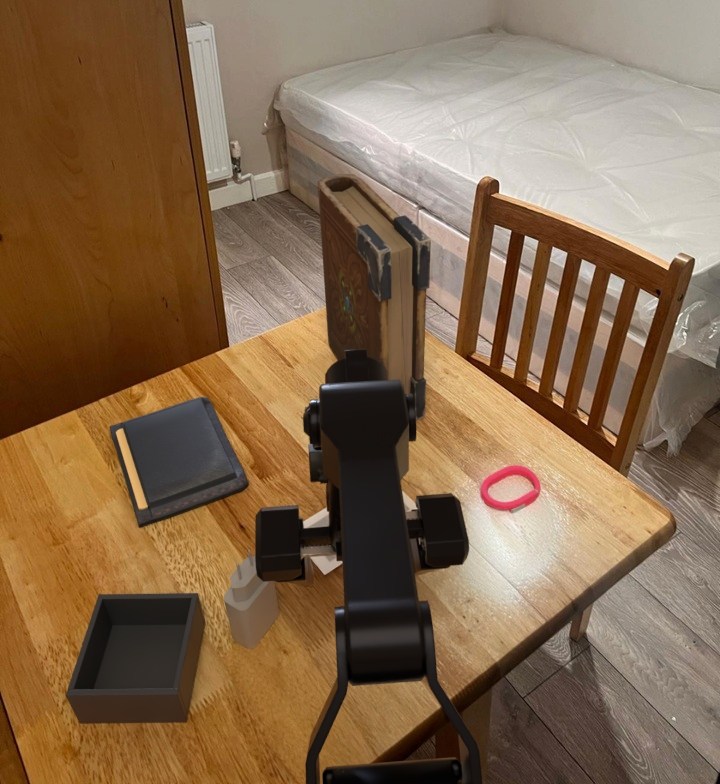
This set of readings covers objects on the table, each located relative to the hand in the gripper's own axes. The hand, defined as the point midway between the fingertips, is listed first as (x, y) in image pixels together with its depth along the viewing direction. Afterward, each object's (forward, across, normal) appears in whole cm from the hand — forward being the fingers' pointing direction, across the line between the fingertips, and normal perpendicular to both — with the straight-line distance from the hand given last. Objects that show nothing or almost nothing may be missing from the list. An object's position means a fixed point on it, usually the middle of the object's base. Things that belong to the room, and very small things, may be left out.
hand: (358, 578), depth 71 cm
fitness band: (+14, -22, -16) cm, 31 cm away
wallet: (+17, +22, -28) cm, 40 cm away
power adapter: (+13, +11, -2) cm, 17 cm away
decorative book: (+19, -6, -41) cm, 46 cm away
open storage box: (+13, +22, +2) cm, 26 cm away
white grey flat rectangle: (+14, -1, -14) cm, 20 cm away
